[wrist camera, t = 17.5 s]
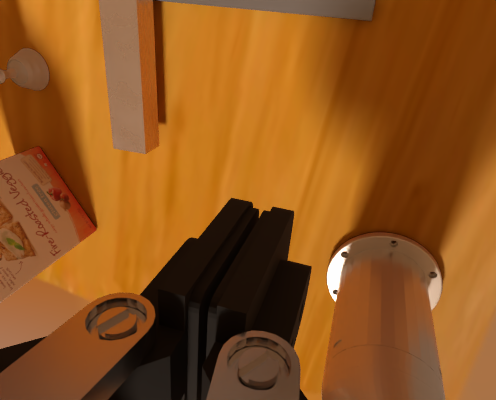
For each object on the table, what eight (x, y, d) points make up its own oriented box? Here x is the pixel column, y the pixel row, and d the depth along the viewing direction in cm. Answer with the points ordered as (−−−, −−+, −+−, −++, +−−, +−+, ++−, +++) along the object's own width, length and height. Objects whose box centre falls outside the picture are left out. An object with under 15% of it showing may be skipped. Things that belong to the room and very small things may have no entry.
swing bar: (131, 138, 47) (113, 148, 44) (112, -110, 36) (86, -122, 33) (162, 143, 46) (145, 154, 43) (152, -110, 35) (128, -123, 32)
